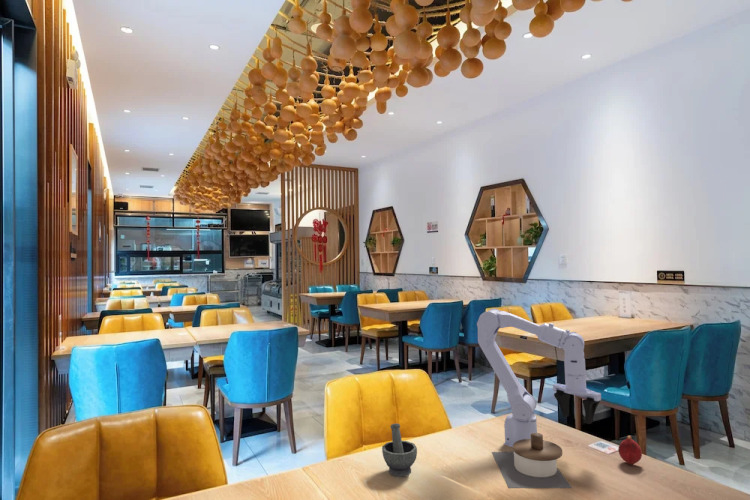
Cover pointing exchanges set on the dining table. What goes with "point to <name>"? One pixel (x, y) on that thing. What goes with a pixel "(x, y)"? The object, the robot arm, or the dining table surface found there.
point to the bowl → (535, 467)
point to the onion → (630, 451)
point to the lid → (537, 448)
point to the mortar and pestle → (399, 454)
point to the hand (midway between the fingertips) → (577, 419)
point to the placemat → (523, 481)
